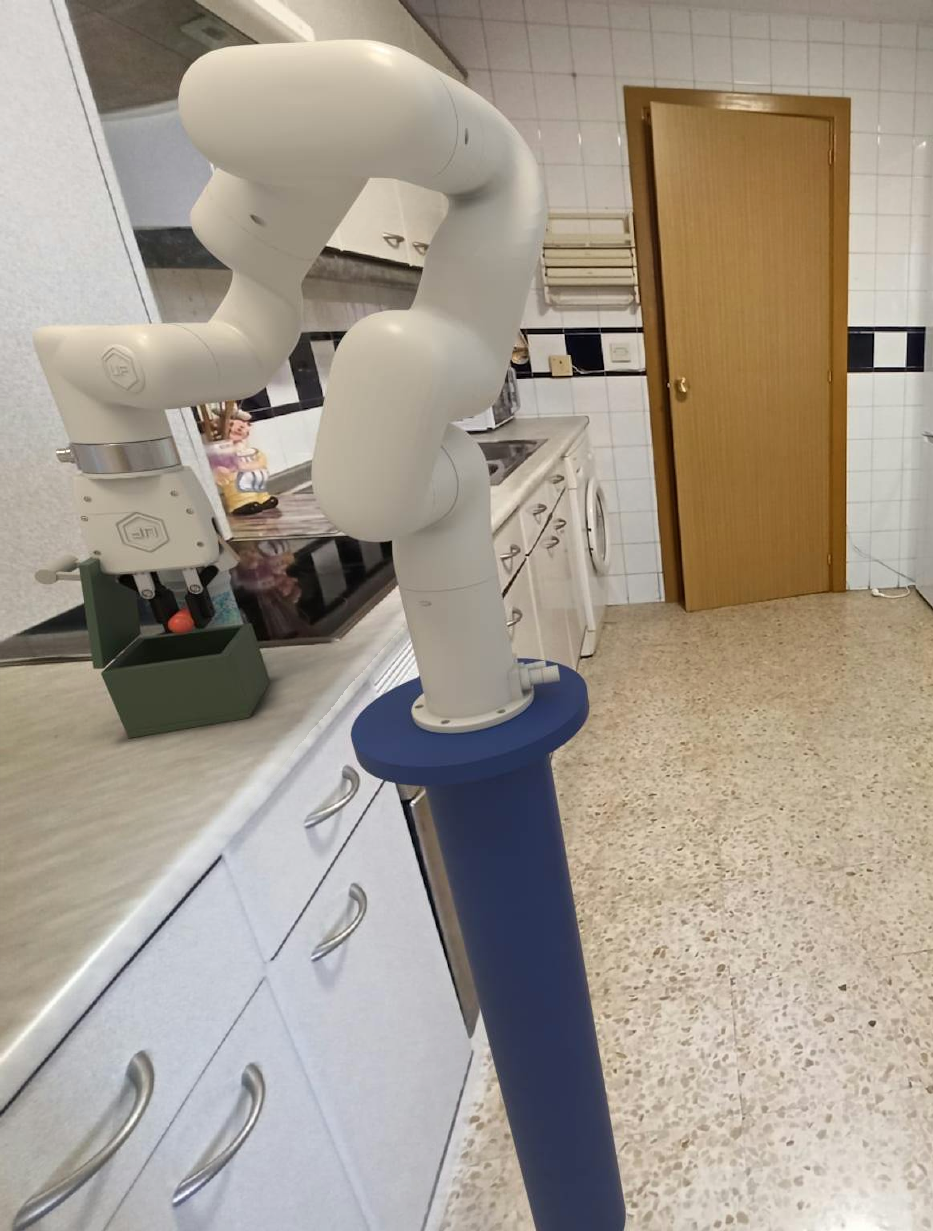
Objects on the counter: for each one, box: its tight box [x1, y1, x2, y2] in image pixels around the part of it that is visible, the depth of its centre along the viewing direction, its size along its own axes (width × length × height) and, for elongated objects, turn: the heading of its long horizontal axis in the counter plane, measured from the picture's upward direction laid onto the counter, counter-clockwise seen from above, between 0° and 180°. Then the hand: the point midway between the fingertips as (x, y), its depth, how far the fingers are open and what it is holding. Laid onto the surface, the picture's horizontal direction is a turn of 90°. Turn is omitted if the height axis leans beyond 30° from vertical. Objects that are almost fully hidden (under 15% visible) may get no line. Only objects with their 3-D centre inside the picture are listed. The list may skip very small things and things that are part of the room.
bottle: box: [159, 557, 244, 631], centre depth 85 cm, size 7×7×20 cm
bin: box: [100, 622, 271, 739], centre depth 80 cm, size 11×10×8 cm
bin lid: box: [33, 554, 142, 670], centre depth 74 cm, size 11×10×5 cm
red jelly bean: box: [168, 604, 194, 634], centre depth 78 cm, size 6×2×2 cm, turn 24°
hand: (189, 624), depth 78 cm, fingers closed on red jelly bean, 2 cm apart
